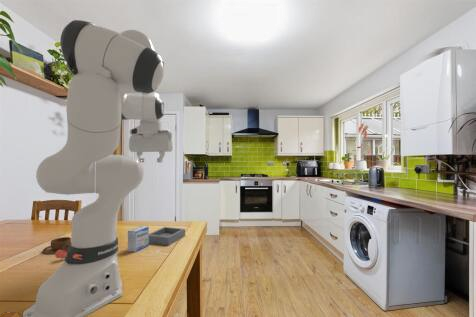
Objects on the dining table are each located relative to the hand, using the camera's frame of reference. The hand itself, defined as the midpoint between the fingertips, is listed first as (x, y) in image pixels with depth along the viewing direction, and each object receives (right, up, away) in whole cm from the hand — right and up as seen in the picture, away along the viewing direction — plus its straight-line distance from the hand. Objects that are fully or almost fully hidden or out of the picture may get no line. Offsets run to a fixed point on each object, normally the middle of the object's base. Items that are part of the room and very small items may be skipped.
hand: (150, 162), depth 102 cm
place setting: (-36, -38, -6) cm, 53 cm away
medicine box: (-5, -37, -1) cm, 38 cm away
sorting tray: (+4, -37, +11) cm, 39 cm away
